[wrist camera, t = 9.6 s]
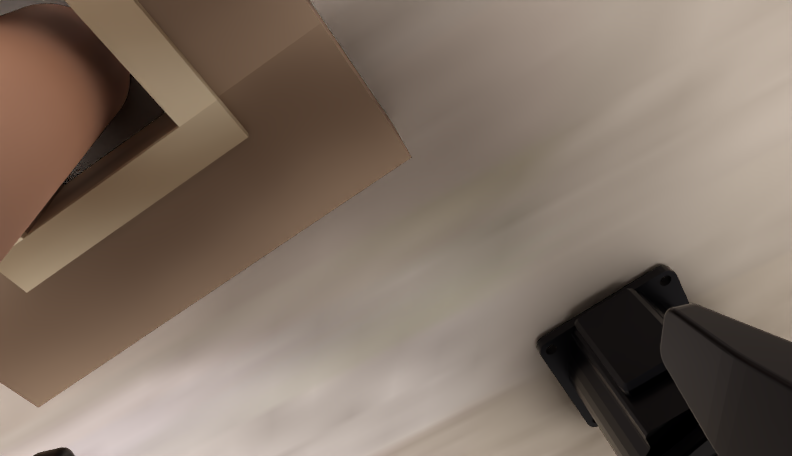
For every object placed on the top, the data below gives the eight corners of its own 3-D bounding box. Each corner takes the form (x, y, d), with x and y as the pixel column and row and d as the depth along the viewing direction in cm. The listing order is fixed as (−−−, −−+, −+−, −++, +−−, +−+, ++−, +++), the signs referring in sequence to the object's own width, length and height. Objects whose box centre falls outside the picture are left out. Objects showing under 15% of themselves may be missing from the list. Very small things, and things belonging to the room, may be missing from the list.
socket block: (391, 122, 19) (413, 161, 16) (69, 342, 21) (34, 414, 18) (46, -389, 13) (-26, -486, 9) (-392, -5, 14) (-573, 18, 11)
